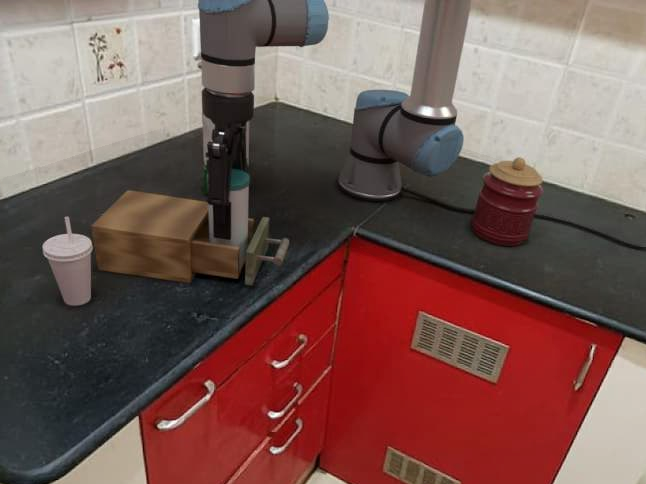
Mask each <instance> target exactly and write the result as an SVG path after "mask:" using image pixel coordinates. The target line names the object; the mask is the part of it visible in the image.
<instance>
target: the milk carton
mask: <svg viewBox="0 0 646 484" xmlns="http://www.w3.org/2000/svg"><path fill="white" fill-rule="evenodd" d="M201 122H202V146H203V148H202V149H203V174H204V176H203V177H204V187H205V188H204V189H205V196H208V183H207V174H208V149H207V144H208V142H209V141H210V142H213V140H212V131H213V129H215V122H214V121H212V120H211V119H208V118H207V117H205V116H204V114H203V112H202V111H201ZM249 156H250V120H249V121H247V124H246V169H247V172H246V173H247V174H248V175H249V164H250V163H249V161H250V159H249V158H250V157H249Z"/></svg>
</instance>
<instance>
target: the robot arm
mask: <svg viewBox="0 0 646 484" xmlns="http://www.w3.org/2000/svg"><path fill="white" fill-rule="evenodd" d="M472 3H473V0H424V4H423V11H422V16H421V17H422V18H421V23H420V29H419V37H418V42H417V44H418V45H417V48H416V49H417V50H416V55H415V62H414V68H413V76H412V81H411V88H410V94H408V93H407V92H403V91H398V90H393V89H367V90H363V91H361V92H360V93H359V94H358V95H357V97H356V101H355V107H354V109H353V119H352V127H351V138H350V148H349V155H348V156H347V159H346V161H345V163H344V165H343V167H342V169H341V171H340V173H339V176H338V188H339V189H340V190H341V192H343V193H344V194H346V195H347V196H349V197H352V198H353V199H357V200H361V201H365V202H372V203H384V202H385V203H386V202H390V201H393V200H396V199H397V198H399V197H400V196H401V194H402V192H404V193H407V194H410V195H412V196H416V197H418V198H421V199H423V200H426V201H429V202H431V203H433V204H437V205H439V206H441V207H444V208H447V209H450V210H453V211H457V212H463V213H469V214H474V212H475V208H465V207H459V206H456V205H453V204H449V203H446V202H444V201H441V200H439V199H436V198H433V197H431V196H429V195H425V194H423V193H420V192H417V191H414V190H413V189H409V188H406V187H404V186H403V184H402V183H403V182H402V176H401V170H400V164H401V165H403V166H405V167H407V168H409V169H411V170H412V171H413V172H415V173H418V174H421V175H424V176H426V177H437V176H439V175H442V174H443V173H445V172H446V171H447V170H448V169H450V168H451V166H453V164H454V163H455V162H456V161H457V160H458V158H459V156H460V154H461V152H462V150H463V149H462V148H463V145H464V141H465V140H464V133H463V130H462V129H461V128H460V127H459V126H458V125H456V121H457V116H458V110H457V108H456V107H455V105H454V104H453V101H454V100H453V99H454V94H455V89H456V85H457V79H458V73H459V69H460V65H461V64H460V63H461V59H462V53H463V50H464V49H463V48H464V44H465V39H466V34H467V28H468V24H469V20H470V19H469V18H470V13H471V8H472ZM197 8H198V13H199V41H200V42H199V43H200V61H198V63H197V68H198V69H200V70H201V75H200V76H201V85H202V87H204V88H203V89H202V90H201V113H202V112H203V114H204V116H205V117H207V118H208V119H211V120H212V121H214V122H215V129H213V131H212V140H213V142H210V141H209V142H208V144H207V149H208V195H207V198H206V202H207V203H208V204H209V205H213V237H214V238H219V239H226V240H230V239H231V202H229V196H230V185H231V174H232V168H233V169H238V170H242V171H244V172H247V169H246V124H247V121H249V122H250V121H251V120H252V119H253V118H254V117H255V116H254V115H255V94H254V93H253V91H255V88H256V84H255V83H256V52H257V51H256V50H257V49H256V48H266V47H267V48H268V47H269V48H271V47H272V48H273V47H299V48H304V47H309V46H316V45H318V44H320V43H321V42H322V41H324V39H325V37H326V36H327V34H328V31H329V20H330V15H329V9H328V6H327V4H326V2H325V0H198V1H197ZM538 214H539V213H537V214H535V215H534V218H538V219H539V218H540V219H545V220H550V221H553V222H559V223H562V224H566V225H569V226H572V227H575V228H578V229H582V230H584V231H587V232H590V233H593V234H595V235H598V236H601V237H604V238H606V239H609V240H611V241H613V242H616V243H618V244H621V245H624V246H627V247H630V248H633V249H639V250H646V247H641V246H637V245H638V244H637V245H633V244H634V243H633V244H630V243H631V242H629V243H627V242H628V241H626V242H624V241H625V240H623V241H621V240H622V239H621V240H619V239H620V238H618V239H616V238H617V237H616V238H614V237H615V236H614V237H611V236H612V235H611V236H609V235H610V234H609V235H607V234H608V233H606V234H604V233H605V232H604V233H601V232H602V231H601V232H599V231H600V230H598V231H596V230H597V229H595V230H593V229H594V228H592V227H590V228H592V229H590V228H587V227H588V226H587V227H584V226H585V225H584V226H581V225H582V224H581V225H578V224H579V223H578V224H575V223H576V222H575V223H572V222H573V221H571V220H568V221H565V220H566V219H564V220H561V219H562V218H561V219H557V218H558V217H557V218H553V217H554V216H552V217H549V216H550V215H548V216H544V215H545V214H543V215H538ZM569 221H571V222H569Z"/></svg>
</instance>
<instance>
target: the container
mask: <svg viewBox="0 0 646 484" xmlns="http://www.w3.org/2000/svg"><path fill="white" fill-rule="evenodd" d="M207 183H208V174H207ZM250 185H251V177H250V175H249V173H248V174H247V173H246V172H244V171H242V170H238V169H233V168H232V174H231V185H230V196H229V202H231V239H230V240H226V239H219V238H214V237H213V205H209V204H208V209H209V243H215V244H221V245H228V246H235V247H239V264H240V263H242V262H244V261H245V260H246V250H247V248H248V218H249V197H250V196H249V195H250V194H249V193H250V191H249V190H250V188H249V187H250Z"/></svg>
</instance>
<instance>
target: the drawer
mask: <svg viewBox="0 0 646 484" xmlns="http://www.w3.org/2000/svg"><path fill="white" fill-rule="evenodd" d="M254 225H255V219H254V218H250V217H248V248H247V250H246V260H245V261H244V262H242V263H240V264H239V247H235V246H228V245H221V244H215V243H209V215H208V216H207V218H206V219H205V221H204V222H203V224H202V225H201V227H200V228H199V230H198V231H197V233H196V234H195V236H194V237H193V239H192V240H191V242H190V250H191V272H195V273H196V274H202V275H203V274H204V275H209V276H216V277H223V278H229V279H237V280H238V279H239V278H240V275H241V273H242V272H243V269H244V268H245V271H244V272H245V273H244V284H245V286H246V285H247V286H253V284H254V282H255V280H256V277H257V275H258V273H259V270H260V268H261V265H262V264H263V261H264V262H265V261H266V262H272V263H273V264H274V265H275V266H278V267H279V266H282V265H283V263H284V260H285V257H286V255H287V251H288V249H289V246H290V242H291V241H290V239H289V238H288V237H283V238H282V239H277V238H269V233H270V217H267V216H262V218H261V219H260V221H259V224H258V226H257V228H256V230H255V232H254V229H255V228H254ZM269 244H275V245H278V248H277V250H276V253H275V255H274V256H269V255H268V256H266V253H267V251H268V249H269Z"/></svg>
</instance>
